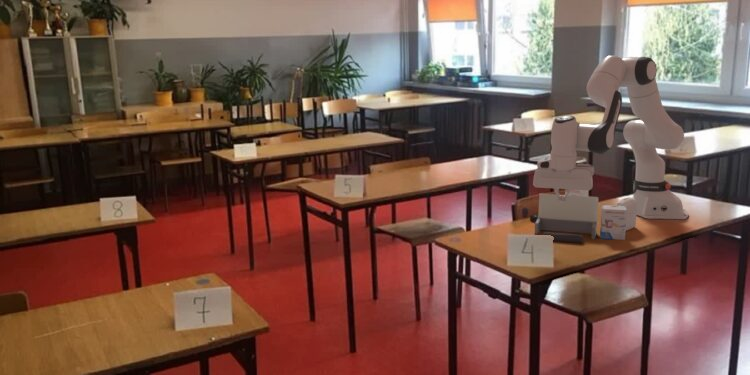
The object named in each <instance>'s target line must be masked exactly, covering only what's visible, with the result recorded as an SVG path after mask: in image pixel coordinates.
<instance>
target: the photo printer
mask: <svg viewBox="0 0 750 375" xmlns="http://www.w3.org/2000/svg"><path fill="white" fill-rule="evenodd" d="M615 206H625V207H626V209H627V217H626V231H629V230H632V229H634V228H635V227H636V226H637V225H636V224H637V215H636V212H637V201H636V200H635V199H634V198H633V197H624V198H622V199H621V200H619V201H618V202H617V203H616V205H615ZM626 231H625V232H626Z"/></svg>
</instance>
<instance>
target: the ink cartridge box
mask: <svg viewBox="0 0 750 375" xmlns="http://www.w3.org/2000/svg"><path fill="white" fill-rule="evenodd" d="M566 193H567V192H566V189H564V195H566ZM568 195H571V196H588V197H589V190H574V189H570V193H569V194H568Z"/></svg>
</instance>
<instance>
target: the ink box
mask: <svg viewBox="0 0 750 375" xmlns="http://www.w3.org/2000/svg"><path fill="white" fill-rule="evenodd" d="M600 212H601V214H600V227H599V228H600V231H599V236H600V238H601V239H603V240H619V241H620V240H622V241H625V240H626V217H627V209H626V207H625V206H616V205H611V204H610V205H609V204H608V205H606V204H603V205H601V210H600Z"/></svg>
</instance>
